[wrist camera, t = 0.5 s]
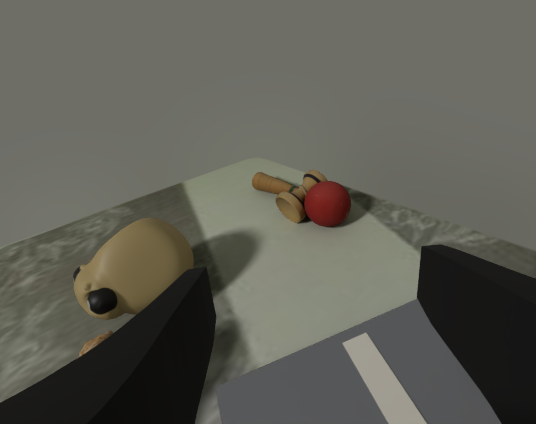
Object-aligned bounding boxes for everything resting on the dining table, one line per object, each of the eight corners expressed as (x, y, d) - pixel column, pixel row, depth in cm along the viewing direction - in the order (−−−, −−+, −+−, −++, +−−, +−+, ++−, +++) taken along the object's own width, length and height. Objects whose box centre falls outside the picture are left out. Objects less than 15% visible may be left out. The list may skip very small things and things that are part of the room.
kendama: (242, 208, 50) (325, 243, 36) (235, 172, 47) (321, 195, 34) (278, 193, 54) (364, 219, 40) (273, 159, 51) (363, 174, 38)
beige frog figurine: (99, 307, 37) (44, 245, 31) (184, 251, 42) (151, 189, 36) (123, 364, 30) (58, 300, 24) (220, 290, 35) (188, 221, 29)
